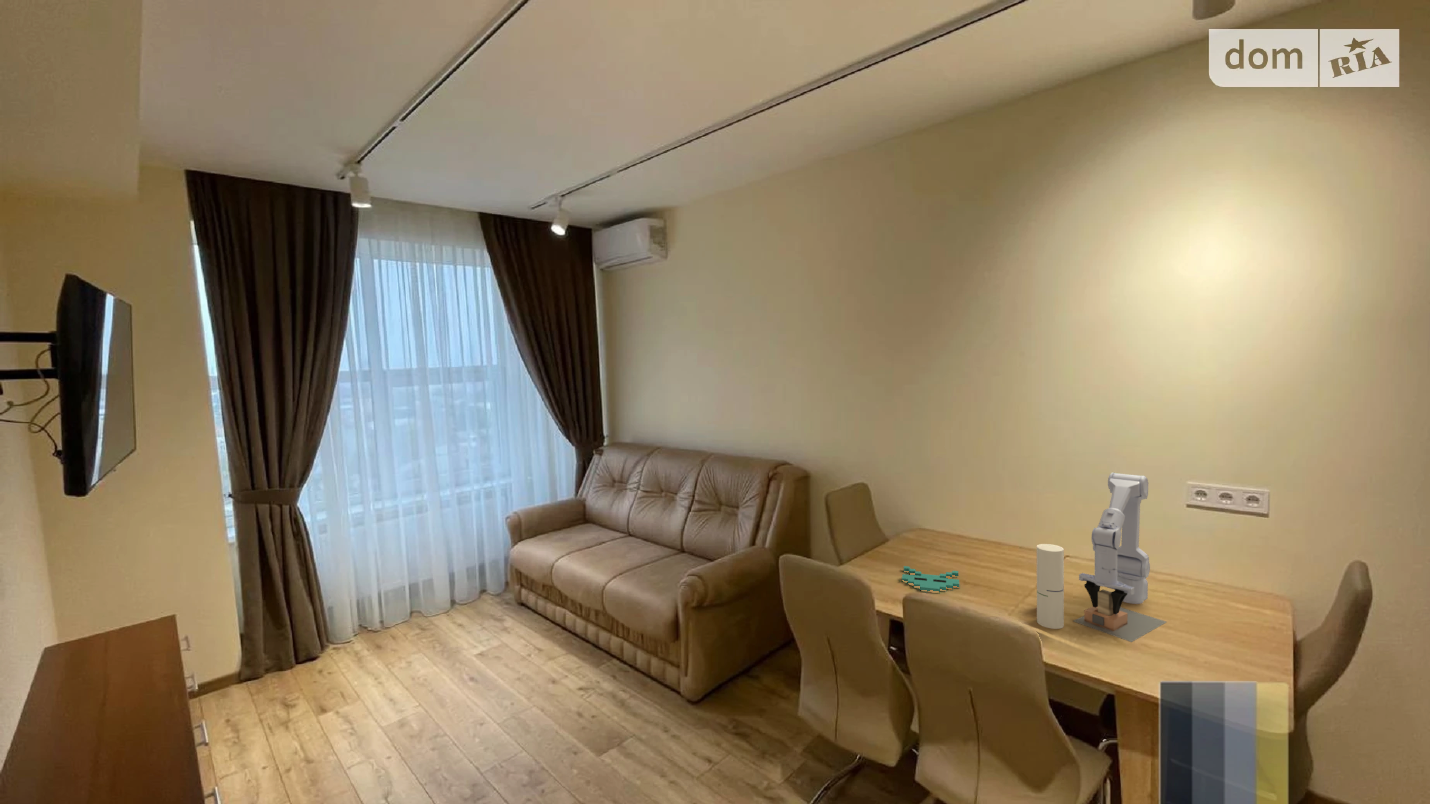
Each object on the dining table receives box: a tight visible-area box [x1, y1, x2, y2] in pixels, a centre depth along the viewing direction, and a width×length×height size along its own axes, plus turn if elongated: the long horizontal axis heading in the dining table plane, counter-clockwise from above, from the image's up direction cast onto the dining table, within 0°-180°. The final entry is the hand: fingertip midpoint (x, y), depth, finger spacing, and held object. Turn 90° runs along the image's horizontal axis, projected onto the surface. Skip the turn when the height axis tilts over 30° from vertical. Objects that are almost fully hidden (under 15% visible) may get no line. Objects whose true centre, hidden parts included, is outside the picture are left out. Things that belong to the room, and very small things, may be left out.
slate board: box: [1073, 606, 1167, 643], centre depth 172 cm, size 22×16×1 cm
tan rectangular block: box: [1098, 589, 1114, 616], centre depth 172 cm, size 3×3×9 cm
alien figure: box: [901, 565, 960, 592], centre depth 211 cm, size 20×2×20 cm
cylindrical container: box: [1036, 543, 1065, 630], centre depth 172 cm, size 7×7×25 cm
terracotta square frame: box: [1083, 605, 1128, 631], centre depth 172 cm, size 9×8×3 cm
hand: (1105, 609), depth 172 cm, fingers open, 5 cm apart
